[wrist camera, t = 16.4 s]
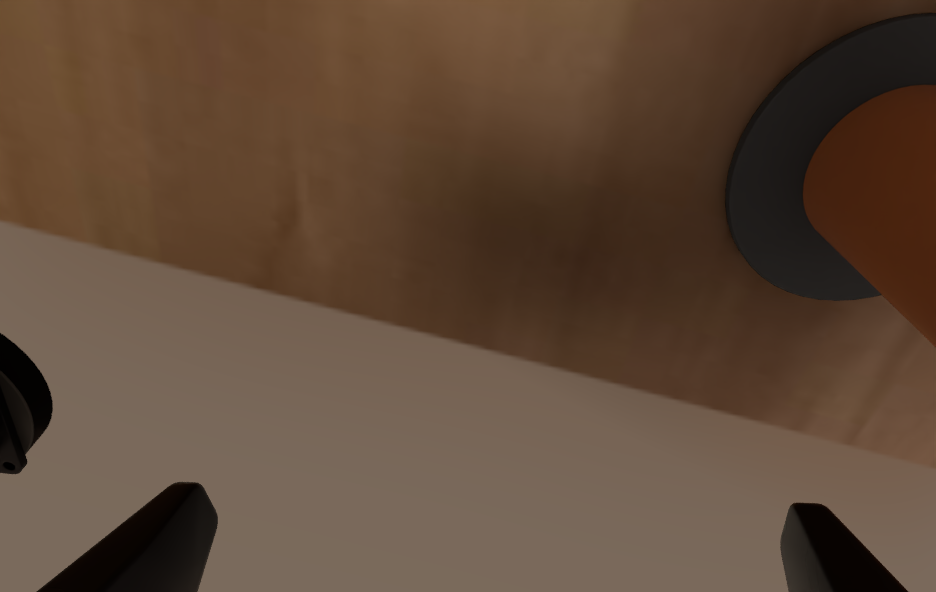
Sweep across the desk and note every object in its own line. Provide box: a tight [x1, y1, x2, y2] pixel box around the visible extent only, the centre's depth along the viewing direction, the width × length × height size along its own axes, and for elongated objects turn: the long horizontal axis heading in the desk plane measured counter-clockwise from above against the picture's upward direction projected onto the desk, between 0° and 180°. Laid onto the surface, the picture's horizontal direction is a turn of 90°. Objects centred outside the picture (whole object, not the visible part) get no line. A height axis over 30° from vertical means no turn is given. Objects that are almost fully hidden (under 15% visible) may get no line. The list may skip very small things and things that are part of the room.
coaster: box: [725, 13, 936, 301], centre depth 19 cm, size 9×9×1 cm
